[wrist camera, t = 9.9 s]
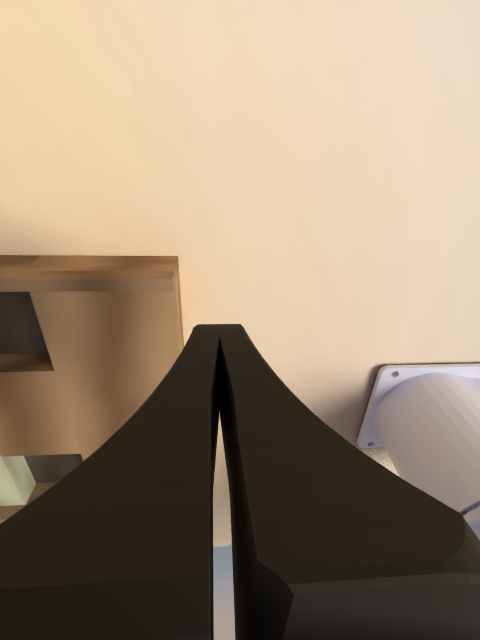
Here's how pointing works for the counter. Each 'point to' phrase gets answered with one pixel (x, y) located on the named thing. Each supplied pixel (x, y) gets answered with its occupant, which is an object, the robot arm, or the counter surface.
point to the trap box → (77, 359)
